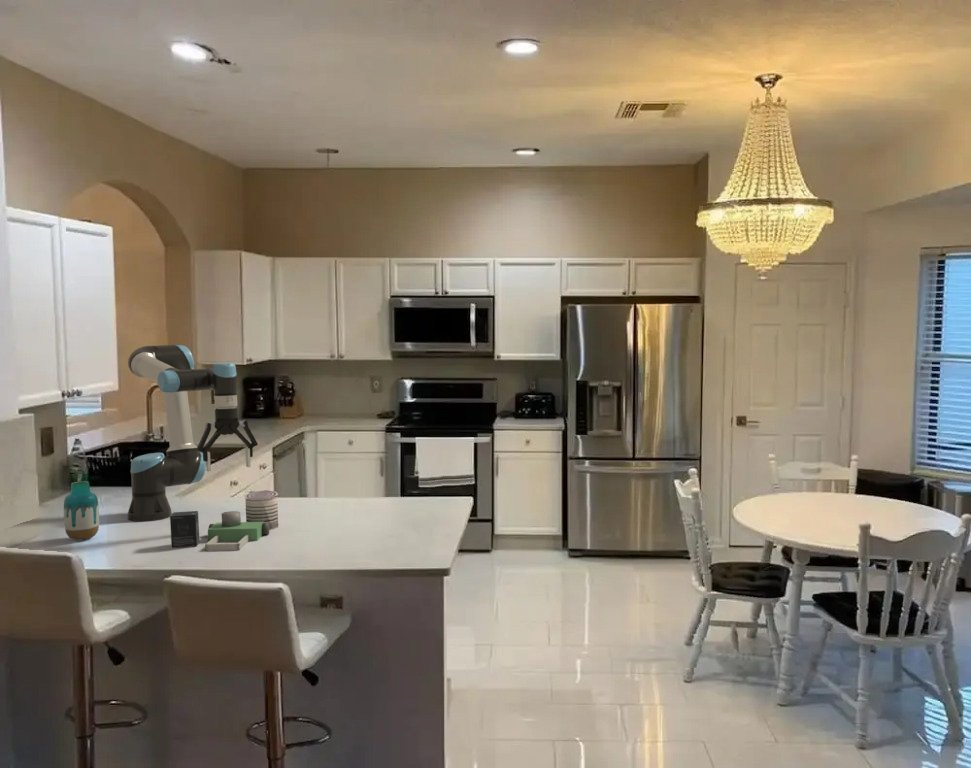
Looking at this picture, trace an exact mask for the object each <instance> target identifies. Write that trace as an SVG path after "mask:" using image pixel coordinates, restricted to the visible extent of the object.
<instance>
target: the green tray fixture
mask: <svg viewBox="0 0 971 768" xmlns="http://www.w3.org/2000/svg"><path fill="white" fill-rule="evenodd" d="M270 531H271V530H270V526H269V523H264V522H246V521H242V520H241V511H238V510H237V511H235V510H231V511H224V512H221V522H215V523H210V524H209V525H208V528H207V542H206V543H205V544H204V552H206V551H207V552H210V551H211V552H214V551H216V552H217V551H240V550H241V549H242V548H244V546H245V545H246V544H248V542H251V541H254V542H255V541H256V542H257V541H259V539H260V538H262V537H263V536H268V535H270ZM219 542H231V543H219ZM232 542H235V543H232ZM236 542H237V543H236Z"/></svg>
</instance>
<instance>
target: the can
mask: <svg viewBox="0 0 971 768" xmlns="http://www.w3.org/2000/svg"><path fill="white" fill-rule="evenodd" d="M278 496H279V492H278V491H275V490H268V489H265V490H257V491H252V492H250V493H245V494H244V498H245V522H264V523H269V526H270V531H271V530H275V529H277V528H279V508H278V505H279V504H278V503H279V502H278Z"/></svg>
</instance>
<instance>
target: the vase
mask: <svg viewBox="0 0 971 768" xmlns="http://www.w3.org/2000/svg"><path fill="white" fill-rule="evenodd" d="M99 509H100V507H99V500H98V496H97V494H96V493H94V492H92V491H91V489H90V482H89V481H75V482H71V484H70V492H69V494H67V495H66V496H65V498H64V500H63V523H64V530H65V534H66V535H67V536H68V538H70V539H72V540H76V541H84V540H87V539H91V538H93V537H94V536H96V535H97V534H98V531H99V528H100V510H99Z"/></svg>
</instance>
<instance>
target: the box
mask: <svg viewBox="0 0 971 768" xmlns="http://www.w3.org/2000/svg"><path fill="white" fill-rule="evenodd" d="M199 523H200V522H199V510H190V511H177V512H175V511H174V512H171V516H169V524H170V540H171V541H170V543H171V548H172V549H174V548H175V549H176V548H189V547H197V546H198V545H199V543H200V526H199Z"/></svg>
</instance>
